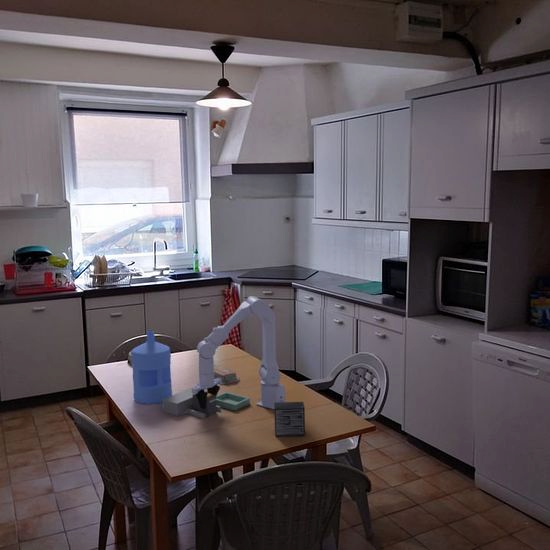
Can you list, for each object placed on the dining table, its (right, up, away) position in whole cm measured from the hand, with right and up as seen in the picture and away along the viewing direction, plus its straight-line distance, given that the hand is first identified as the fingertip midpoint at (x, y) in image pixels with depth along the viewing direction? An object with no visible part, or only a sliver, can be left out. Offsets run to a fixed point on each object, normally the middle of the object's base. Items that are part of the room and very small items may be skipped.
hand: (207, 406), depth 222 cm
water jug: (-25, -1, +17) cm, 30 cm away
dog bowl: (-39, +6, +68) cm, 79 cm away
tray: (+8, -1, +9) cm, 12 cm away
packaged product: (+1, +3, +42) cm, 42 cm away
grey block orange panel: (-1, -2, +1) cm, 3 cm away
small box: (+31, -5, -18) cm, 37 cm away
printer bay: (-5, -2, +4) cm, 7 cm away
